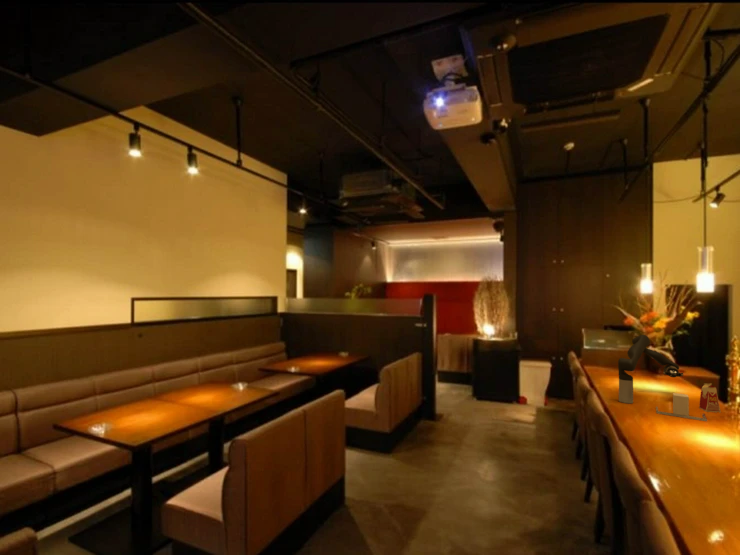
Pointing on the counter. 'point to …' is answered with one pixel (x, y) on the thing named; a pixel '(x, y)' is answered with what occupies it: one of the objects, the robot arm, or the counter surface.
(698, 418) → the metal staple
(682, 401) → the carton
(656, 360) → the robot arm
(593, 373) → the counter surface
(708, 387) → the milk carton
